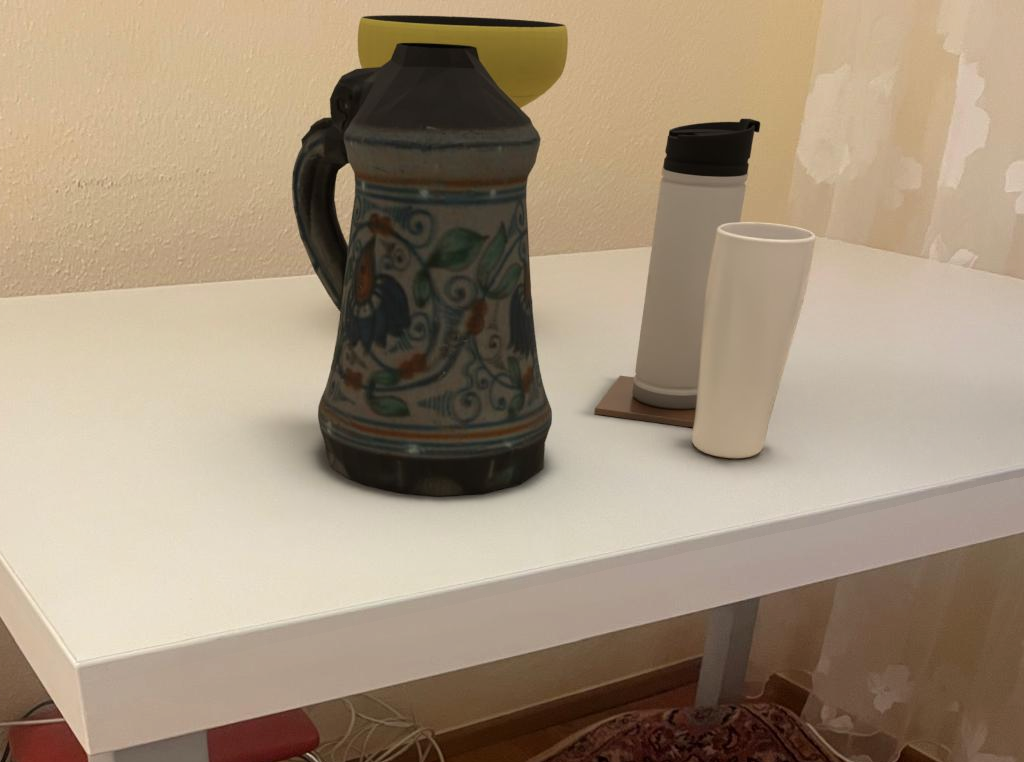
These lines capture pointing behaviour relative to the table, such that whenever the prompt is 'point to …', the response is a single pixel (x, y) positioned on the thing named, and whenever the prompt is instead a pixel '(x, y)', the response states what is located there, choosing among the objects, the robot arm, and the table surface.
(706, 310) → the drinking glass
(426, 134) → the beer stein
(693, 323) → the travel mug
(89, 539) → the table surface
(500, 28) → the cocktail glass
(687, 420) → the coaster
